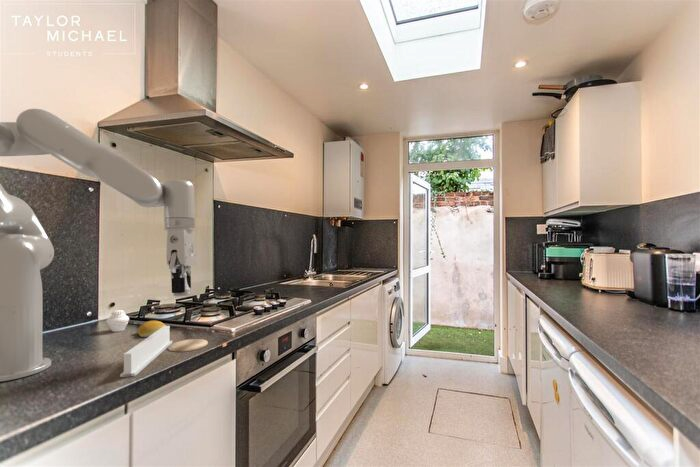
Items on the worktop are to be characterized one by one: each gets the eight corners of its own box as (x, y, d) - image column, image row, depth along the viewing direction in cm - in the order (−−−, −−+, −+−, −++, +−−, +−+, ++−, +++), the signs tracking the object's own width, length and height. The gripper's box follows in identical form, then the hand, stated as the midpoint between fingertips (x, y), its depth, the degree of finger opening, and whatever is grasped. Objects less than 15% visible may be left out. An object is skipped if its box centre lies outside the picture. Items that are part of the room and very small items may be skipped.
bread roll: (141, 339, 102) (141, 326, 102) (135, 333, 108) (135, 321, 109) (171, 334, 107) (171, 321, 107) (164, 328, 114) (164, 317, 114)
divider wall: (120, 377, 74) (120, 354, 74) (161, 343, 97) (161, 326, 97) (135, 376, 74) (135, 353, 74) (172, 342, 98) (172, 325, 98)
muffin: (129, 327, 116) (129, 306, 116) (129, 331, 110) (129, 310, 111) (107, 329, 112) (107, 309, 112) (105, 334, 107) (105, 312, 107)
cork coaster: (162, 353, 89) (162, 351, 89) (175, 341, 99) (175, 340, 99) (202, 350, 91) (202, 348, 91) (211, 339, 101) (211, 338, 101)
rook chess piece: (172, 295, 93) (171, 266, 93) (189, 293, 96) (188, 265, 96) (174, 297, 90) (173, 267, 90) (192, 295, 92) (191, 266, 92)
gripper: (184, 223, 85) (186, 295, 85) (202, 225, 102) (204, 286, 102) (152, 224, 84) (154, 297, 84) (176, 226, 101) (177, 287, 101)
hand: (181, 290), depth 93 cm, fingers closed on rook chess piece, 4 cm apart
